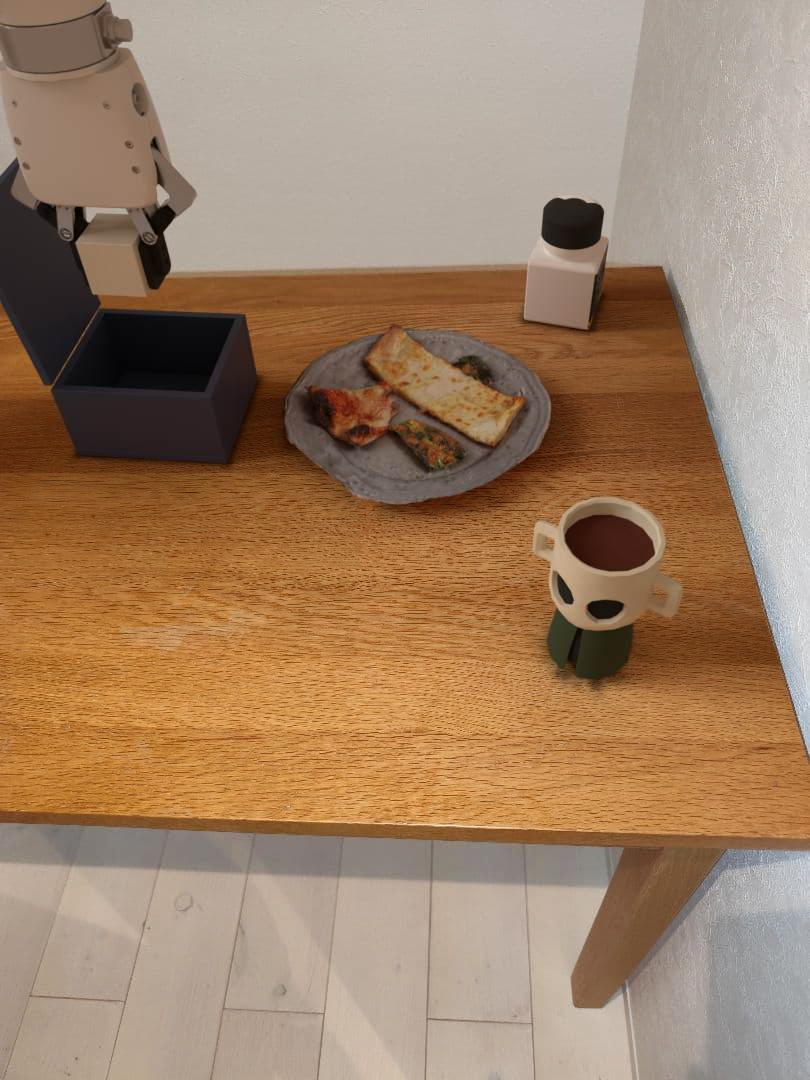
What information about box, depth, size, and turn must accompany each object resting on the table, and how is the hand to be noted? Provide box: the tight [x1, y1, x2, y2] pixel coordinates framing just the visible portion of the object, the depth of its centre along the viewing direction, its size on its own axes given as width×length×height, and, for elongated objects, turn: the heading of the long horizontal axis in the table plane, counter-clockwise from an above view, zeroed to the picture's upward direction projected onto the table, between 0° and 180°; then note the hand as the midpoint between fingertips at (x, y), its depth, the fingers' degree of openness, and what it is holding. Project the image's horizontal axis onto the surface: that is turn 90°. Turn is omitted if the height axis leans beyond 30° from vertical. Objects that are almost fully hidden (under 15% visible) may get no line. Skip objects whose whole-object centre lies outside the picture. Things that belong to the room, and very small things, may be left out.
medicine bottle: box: [523, 194, 610, 331], centre depth 93 cm, size 7×7×12 cm
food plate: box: [282, 322, 552, 505], centre depth 84 cm, size 25×23×4 cm
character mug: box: [531, 496, 684, 681], centre depth 63 cm, size 11×7×13 cm, turn 55°
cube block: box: [76, 212, 152, 298], centre depth 72 cm, size 5×5×5 cm
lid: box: [0, 156, 102, 386], centre depth 77 cm, size 15×13×1 cm
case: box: [50, 307, 259, 464], centre depth 85 cm, size 15×13×8 cm
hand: (127, 276), depth 73 cm, fingers closed on cube block, 4 cm apart
